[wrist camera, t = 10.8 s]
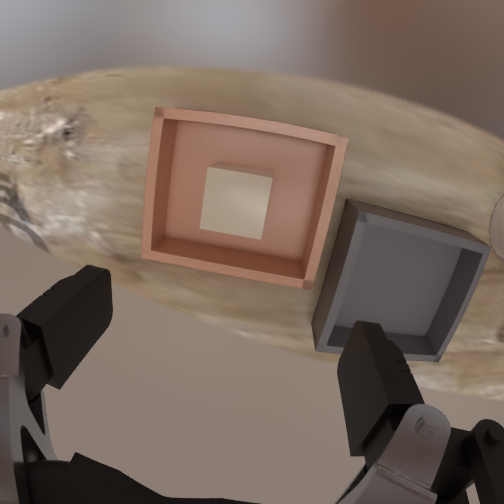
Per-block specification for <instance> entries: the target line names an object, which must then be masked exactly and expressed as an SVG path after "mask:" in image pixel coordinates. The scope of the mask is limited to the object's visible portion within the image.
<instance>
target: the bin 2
mask: <svg viewBox="0 0 504 504" xmlns="http://www.w3.org/2000/svg"><path fill="white" fill-rule="evenodd" d="M490 250H491V247H490V246H489V245H487V244H486V243H484V242H483V241H481V240H480V239H478V238H477V237H475V236H473V235H472V234H470V233H469V232H467V231H463V230H460V229H457V228H454V227H450V226H447V225H444V224H440V223H437V222H434V221H430V220H427V219H423V218H420V217H416V216H413V215H409V214H405V213H402V212H398V211H394V210H390V209H386V208H383V207H379V206H375V205H371V204H367V203H362V202H358V201H354V200H350V199H346V202H345V207H344V211H343V215H342V219H341V223H340V226H339V230H338V234H337V238H336V242H335V245H334V249H333V253H332V256H331V260H330V263H329V267H328V270H327V274H326V277H325V281H324V284H323V287H322V291H321V294H320V297H319V300H318V304H317V307H316V310H315V313H314V316H313V320H312V323H311V325H312V332H313V339H314V345H315V351H318V352H326V353H334V354H342V352H343V349H344V347H345V345H346V342H347V340H348V337H349V335H350V332H351V330H352V327H353V325H354V323H355V322H356V321H357V320H360V321H367V322H374V323H379V324H380V325H381V326H382V328H383V331H384V333H385V335H386V337H387V340H392V341H393V342H394V343H395V344H396V345H397V346H398V348H399V349H400V350H401V351H402V353H403V355H404V357H405V359H406V360H410V361H428V362H439V360H440V358H441V357H442V355H443V353H444V351H445V350H446V348H447V346H448V344H449V342H450V341H451V339H452V337H453V335H454V333H455V331H456V329H457V327H458V325H459V323H460V321H461V319H462V317H463V315H464V313H465V311H466V309H467V306H468V304H469V302H470V300H471V298H472V295H473V293H474V291H475V288H476V286H477V284H478V281H479V279H480V276H481V274H482V271H483V269H484V266H485V263H486V261H487V258H488V255H489V252H490Z"/></svg>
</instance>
